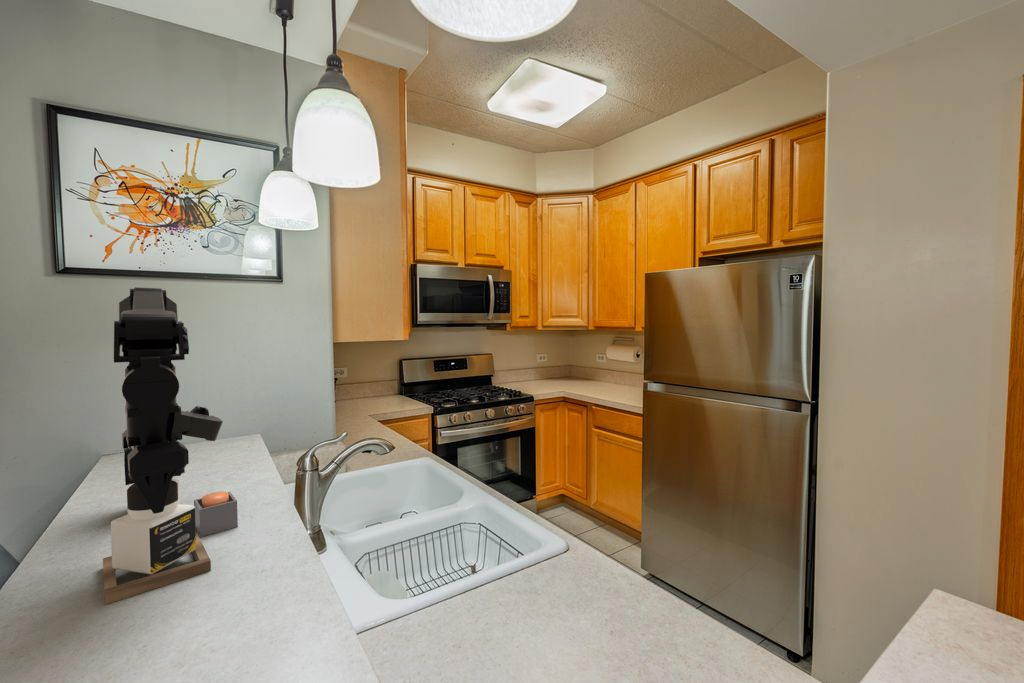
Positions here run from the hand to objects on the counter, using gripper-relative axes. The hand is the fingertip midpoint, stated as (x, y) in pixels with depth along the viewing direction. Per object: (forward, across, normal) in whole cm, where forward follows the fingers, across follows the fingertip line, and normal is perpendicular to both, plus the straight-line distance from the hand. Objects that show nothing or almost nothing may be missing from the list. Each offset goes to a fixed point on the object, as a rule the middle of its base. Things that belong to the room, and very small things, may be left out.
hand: (154, 502), depth 65 cm
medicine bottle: (+9, 0, 0) cm, 9 cm away
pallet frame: (+10, 0, 0) cm, 10 cm away
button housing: (+10, +10, -9) cm, 17 cm away
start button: (+7, +10, -9) cm, 15 cm away
